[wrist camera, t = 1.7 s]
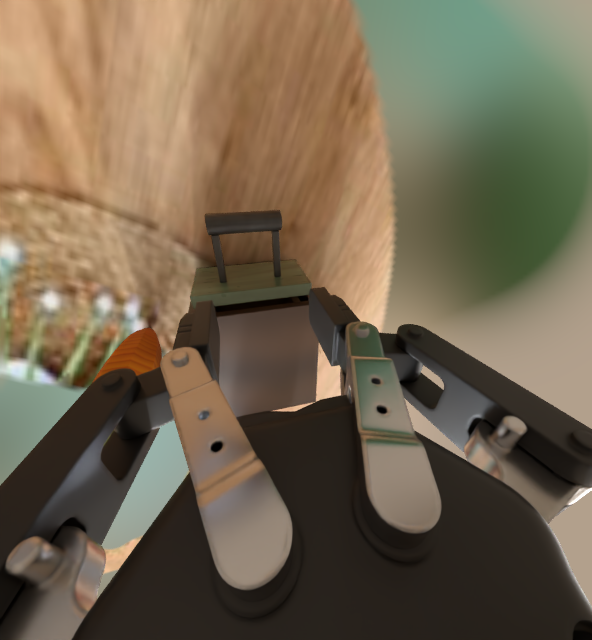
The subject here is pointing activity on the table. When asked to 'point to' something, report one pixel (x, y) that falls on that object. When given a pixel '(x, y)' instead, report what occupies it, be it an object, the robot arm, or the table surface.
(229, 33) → the table surface
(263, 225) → the drawer
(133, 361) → the carrot
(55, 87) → the table surface
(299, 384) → the cabinet
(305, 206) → the table surface
